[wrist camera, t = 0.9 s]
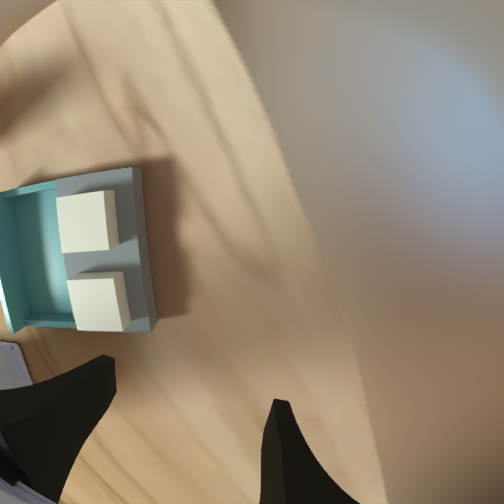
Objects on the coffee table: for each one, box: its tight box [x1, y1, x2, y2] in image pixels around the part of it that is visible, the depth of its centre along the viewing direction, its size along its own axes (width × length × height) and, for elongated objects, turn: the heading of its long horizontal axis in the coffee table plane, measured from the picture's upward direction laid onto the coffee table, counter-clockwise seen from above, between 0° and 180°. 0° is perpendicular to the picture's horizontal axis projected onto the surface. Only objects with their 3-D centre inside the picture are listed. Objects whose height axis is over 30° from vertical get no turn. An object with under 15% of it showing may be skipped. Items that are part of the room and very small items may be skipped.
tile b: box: [56, 190, 119, 253], centre depth 20 cm, size 4×4×2 cm
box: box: [0, 180, 77, 334], centre depth 22 cm, size 7×12×4 cm, turn 3°
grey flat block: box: [56, 167, 158, 332], centre depth 23 cm, size 7×12×2 cm, turn 3°
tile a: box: [67, 271, 131, 331], centre depth 22 cm, size 4×4×2 cm
